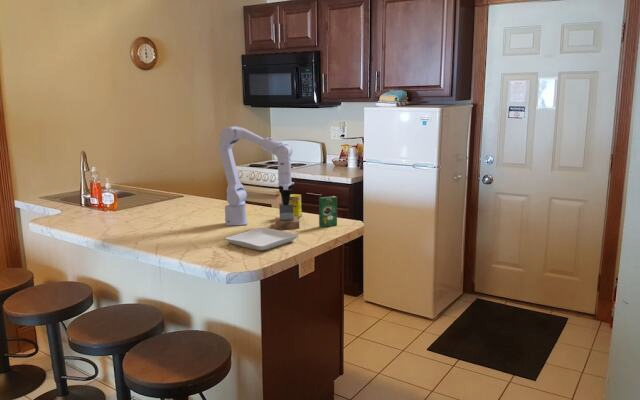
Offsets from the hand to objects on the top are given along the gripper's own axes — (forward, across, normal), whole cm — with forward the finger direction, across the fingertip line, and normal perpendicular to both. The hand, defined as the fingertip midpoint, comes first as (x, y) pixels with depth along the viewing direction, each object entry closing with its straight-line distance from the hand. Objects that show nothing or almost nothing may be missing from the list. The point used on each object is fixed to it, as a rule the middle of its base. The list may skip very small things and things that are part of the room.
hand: (285, 203), depth 226 cm
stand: (+10, 0, 0) cm, 10 cm away
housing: (+7, 0, 0) cm, 7 cm away
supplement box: (+11, +15, -4) cm, 19 cm away
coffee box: (+10, -3, -18) cm, 21 cm away
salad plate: (+11, -25, +10) cm, 30 cm away
